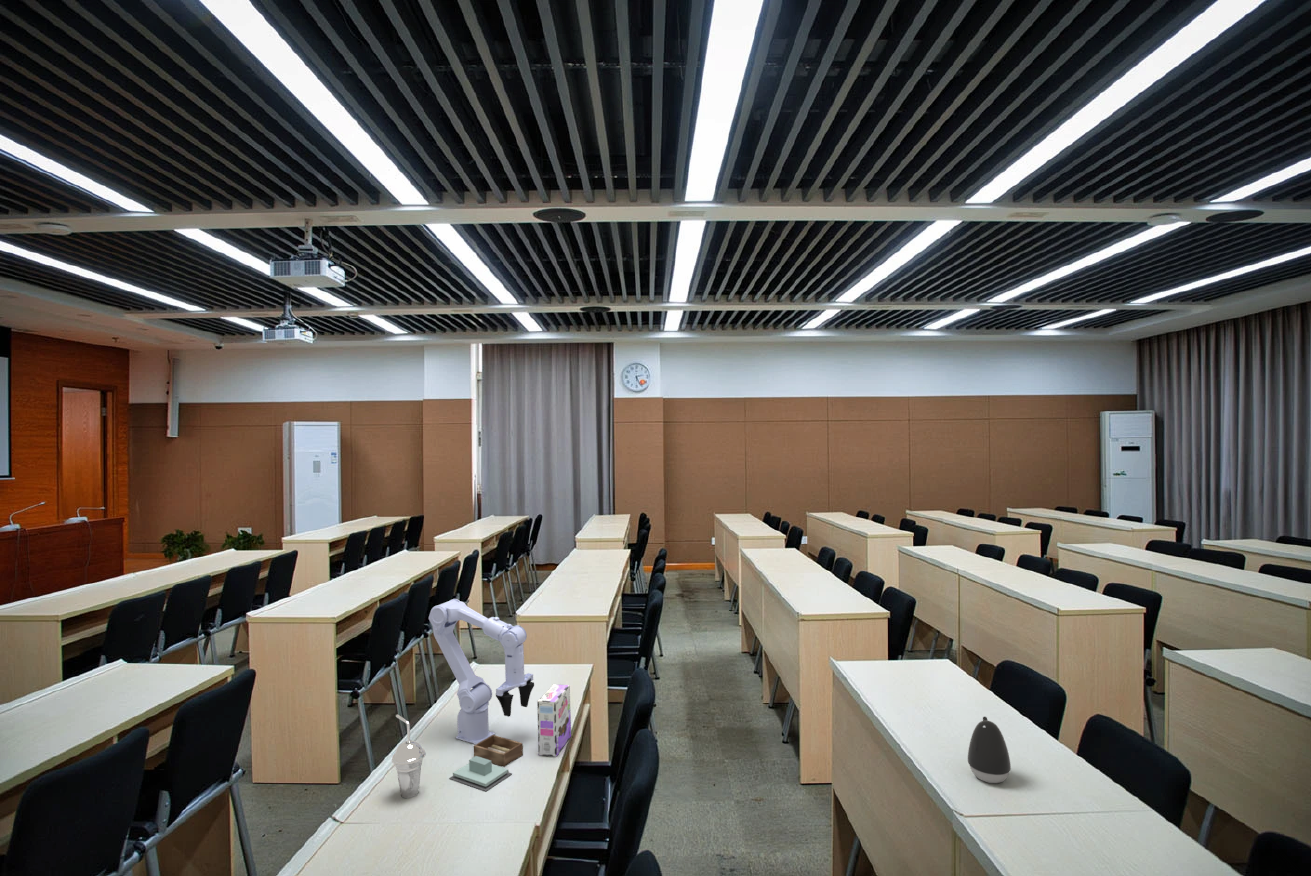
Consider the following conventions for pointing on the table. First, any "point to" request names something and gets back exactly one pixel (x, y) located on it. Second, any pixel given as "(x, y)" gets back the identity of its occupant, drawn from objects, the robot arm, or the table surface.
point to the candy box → (554, 720)
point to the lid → (480, 771)
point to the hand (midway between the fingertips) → (515, 710)
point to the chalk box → (499, 750)
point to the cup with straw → (408, 764)
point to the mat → (481, 785)
